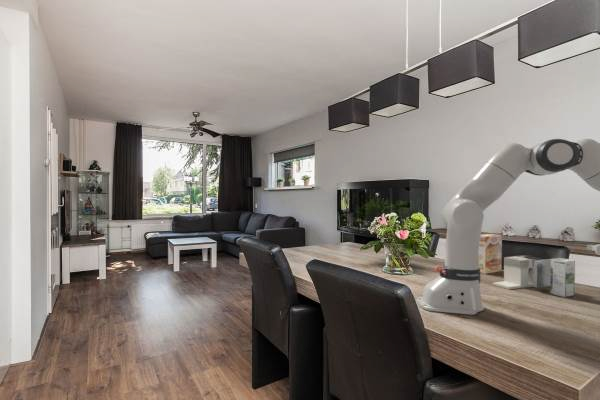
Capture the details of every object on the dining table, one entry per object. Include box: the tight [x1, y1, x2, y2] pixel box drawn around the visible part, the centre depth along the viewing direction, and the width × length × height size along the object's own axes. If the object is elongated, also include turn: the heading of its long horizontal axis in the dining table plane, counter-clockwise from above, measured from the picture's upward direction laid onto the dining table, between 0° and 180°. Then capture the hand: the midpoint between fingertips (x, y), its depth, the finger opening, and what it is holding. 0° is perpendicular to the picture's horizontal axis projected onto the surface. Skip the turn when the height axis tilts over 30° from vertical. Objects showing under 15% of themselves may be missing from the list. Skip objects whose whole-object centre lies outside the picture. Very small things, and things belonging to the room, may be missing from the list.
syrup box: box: [549, 257, 576, 298], centre depth 133 cm, size 6×6×14 cm
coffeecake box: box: [479, 233, 503, 275], centre depth 176 cm, size 15×7×20 cm, turn 119°
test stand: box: [492, 255, 535, 290], centre depth 149 cm, size 8×26×12 cm, turn 109°
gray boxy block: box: [524, 255, 552, 288], centre depth 144 cm, size 10×12×11 cm
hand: (595, 245), depth 123 cm, fingers open, 8 cm apart
